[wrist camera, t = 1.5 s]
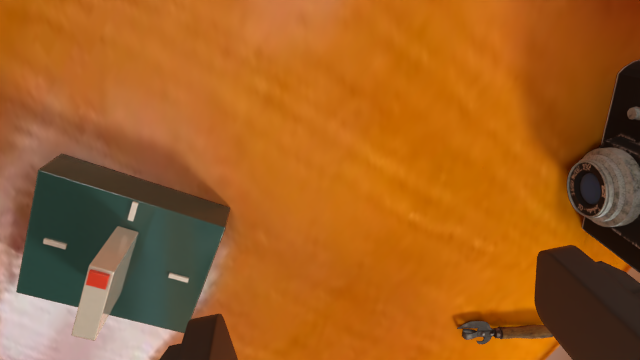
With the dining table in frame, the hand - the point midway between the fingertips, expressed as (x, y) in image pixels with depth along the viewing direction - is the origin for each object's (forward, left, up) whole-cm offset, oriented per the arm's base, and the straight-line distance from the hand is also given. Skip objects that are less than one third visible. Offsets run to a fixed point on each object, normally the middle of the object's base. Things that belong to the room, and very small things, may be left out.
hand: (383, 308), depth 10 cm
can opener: (+24, -12, -20) cm, 33 cm away
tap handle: (-9, -14, -17) cm, 24 cm away
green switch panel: (-9, -14, -20) cm, 26 cm away
